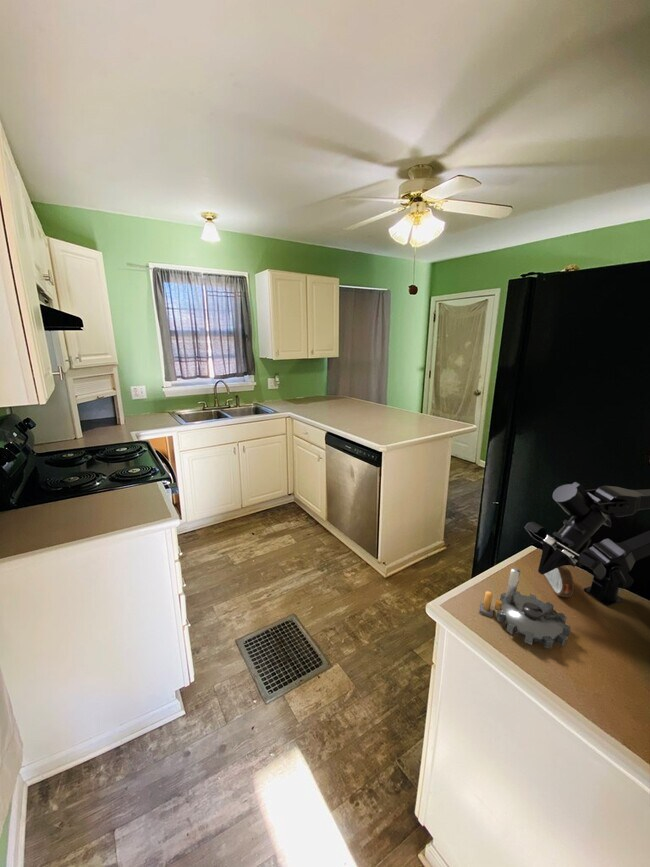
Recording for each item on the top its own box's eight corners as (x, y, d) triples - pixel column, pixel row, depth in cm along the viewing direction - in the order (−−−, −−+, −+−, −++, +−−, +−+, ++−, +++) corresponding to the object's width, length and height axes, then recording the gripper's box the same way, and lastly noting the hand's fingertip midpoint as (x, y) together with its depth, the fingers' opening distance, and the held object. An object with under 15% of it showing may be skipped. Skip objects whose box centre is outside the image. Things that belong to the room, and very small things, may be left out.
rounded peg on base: (492, 609, 90) (496, 591, 88) (492, 617, 87) (495, 599, 86) (479, 605, 91) (483, 587, 90) (479, 612, 89) (482, 595, 87)
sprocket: (499, 589, 95) (505, 554, 92) (567, 614, 87) (577, 576, 84) (490, 627, 82) (497, 588, 80) (569, 660, 75) (581, 618, 72)
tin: (571, 604, 92) (578, 576, 90) (557, 602, 93) (564, 574, 91) (548, 568, 107) (553, 544, 104) (536, 567, 107) (542, 542, 105)
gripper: (631, 564, 85) (587, 613, 84) (558, 524, 102) (522, 565, 101) (617, 541, 80) (571, 593, 79) (543, 503, 97) (505, 546, 96)
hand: (539, 573), depth 89 cm, fingers closed
